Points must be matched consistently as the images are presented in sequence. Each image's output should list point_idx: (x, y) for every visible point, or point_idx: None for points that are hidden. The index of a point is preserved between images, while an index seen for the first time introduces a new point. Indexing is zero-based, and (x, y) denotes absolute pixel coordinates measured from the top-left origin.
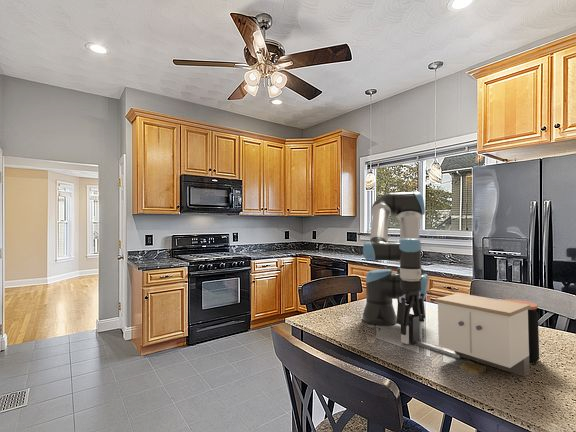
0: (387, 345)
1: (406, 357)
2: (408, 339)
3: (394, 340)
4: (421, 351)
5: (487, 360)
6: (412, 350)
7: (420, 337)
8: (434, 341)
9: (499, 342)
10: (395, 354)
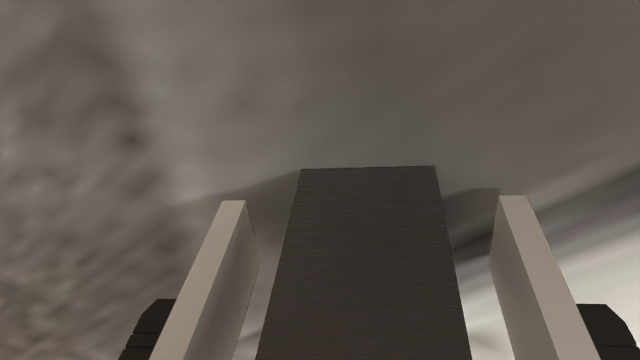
0: (54, 135)
1: (75, 339)
2: (243, 300)
3: (241, 74)
4: None
5: None
6: None
7: (494, 280)
8: None
9: None
10: (21, 283)
